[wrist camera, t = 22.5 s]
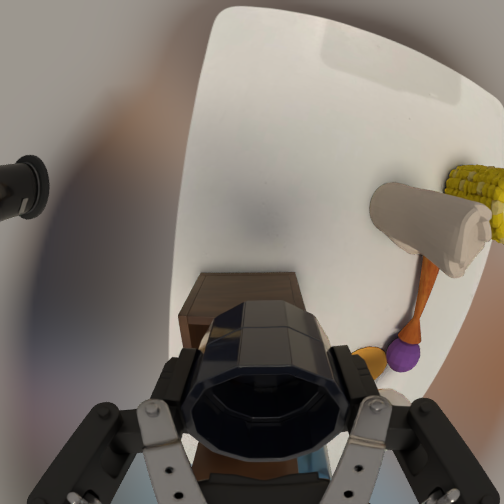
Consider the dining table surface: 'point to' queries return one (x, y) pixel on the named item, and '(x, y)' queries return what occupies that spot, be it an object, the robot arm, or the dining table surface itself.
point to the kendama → (412, 325)
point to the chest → (231, 298)
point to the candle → (432, 225)
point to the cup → (376, 366)
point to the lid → (238, 466)
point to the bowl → (265, 385)
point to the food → (481, 192)
